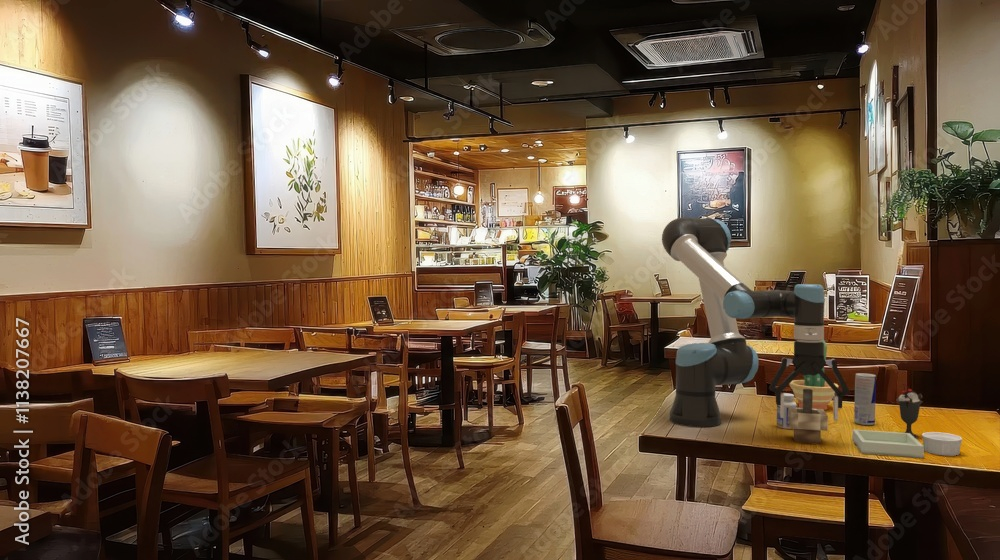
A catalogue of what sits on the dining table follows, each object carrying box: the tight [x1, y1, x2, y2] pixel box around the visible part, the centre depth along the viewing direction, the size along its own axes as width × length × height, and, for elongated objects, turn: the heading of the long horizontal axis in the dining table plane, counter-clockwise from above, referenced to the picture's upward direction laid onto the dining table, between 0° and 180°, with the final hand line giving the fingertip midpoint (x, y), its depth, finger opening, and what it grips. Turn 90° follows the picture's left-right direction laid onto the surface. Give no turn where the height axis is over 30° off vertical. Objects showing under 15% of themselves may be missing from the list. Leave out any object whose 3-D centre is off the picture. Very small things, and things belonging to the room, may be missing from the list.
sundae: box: [895, 383, 923, 439], centre depth 205 cm, size 7×7×15 cm
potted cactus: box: [789, 339, 840, 411], centre depth 243 cm, size 16×15×25 cm
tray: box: [852, 429, 925, 459], centre depth 191 cm, size 14×14×3 cm
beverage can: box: [853, 372, 877, 426], centre depth 220 cm, size 6×6×15 cm
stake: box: [793, 389, 822, 445], centre depth 199 cm, size 7×7×14 cm
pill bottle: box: [776, 392, 798, 430], centre depth 215 cm, size 5×5×10 cm
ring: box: [788, 407, 829, 432], centre depth 199 cm, size 9×9×4 cm
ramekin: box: [921, 431, 963, 457], centre depth 188 cm, size 9×9×4 cm
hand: (808, 418), depth 199 cm, fingers open, 13 cm apart
